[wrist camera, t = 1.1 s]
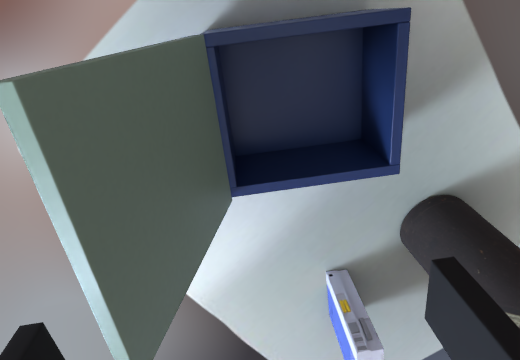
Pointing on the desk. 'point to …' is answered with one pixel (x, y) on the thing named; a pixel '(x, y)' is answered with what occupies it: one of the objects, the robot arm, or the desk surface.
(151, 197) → the case lid
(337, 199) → the desk surface
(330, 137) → the case
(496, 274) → the container
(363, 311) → the walkman
